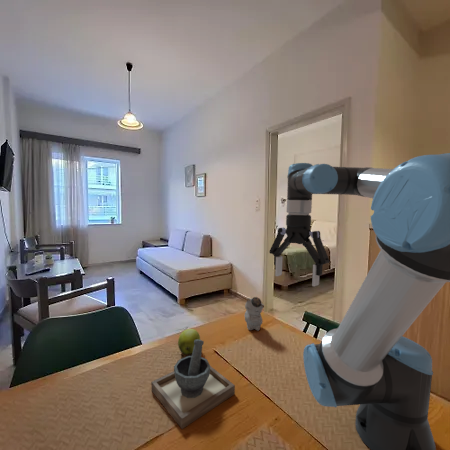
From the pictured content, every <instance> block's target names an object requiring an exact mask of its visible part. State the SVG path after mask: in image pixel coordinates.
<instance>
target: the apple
mask: <svg viewBox="0 0 450 450" xmlns="http://www.w3.org/2000/svg"><path fill="white" fill-rule="evenodd" d="M194 340H201V336H200V333H199V332H198V331H197V330H196V329H194V328H187V329H185V330H183V331H182V332H181V333H180V335H179V337H178V339H177V346H178V349H179V351H180V352H181V353H182V354H184V355H192V353H193V349H194Z"/></svg>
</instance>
